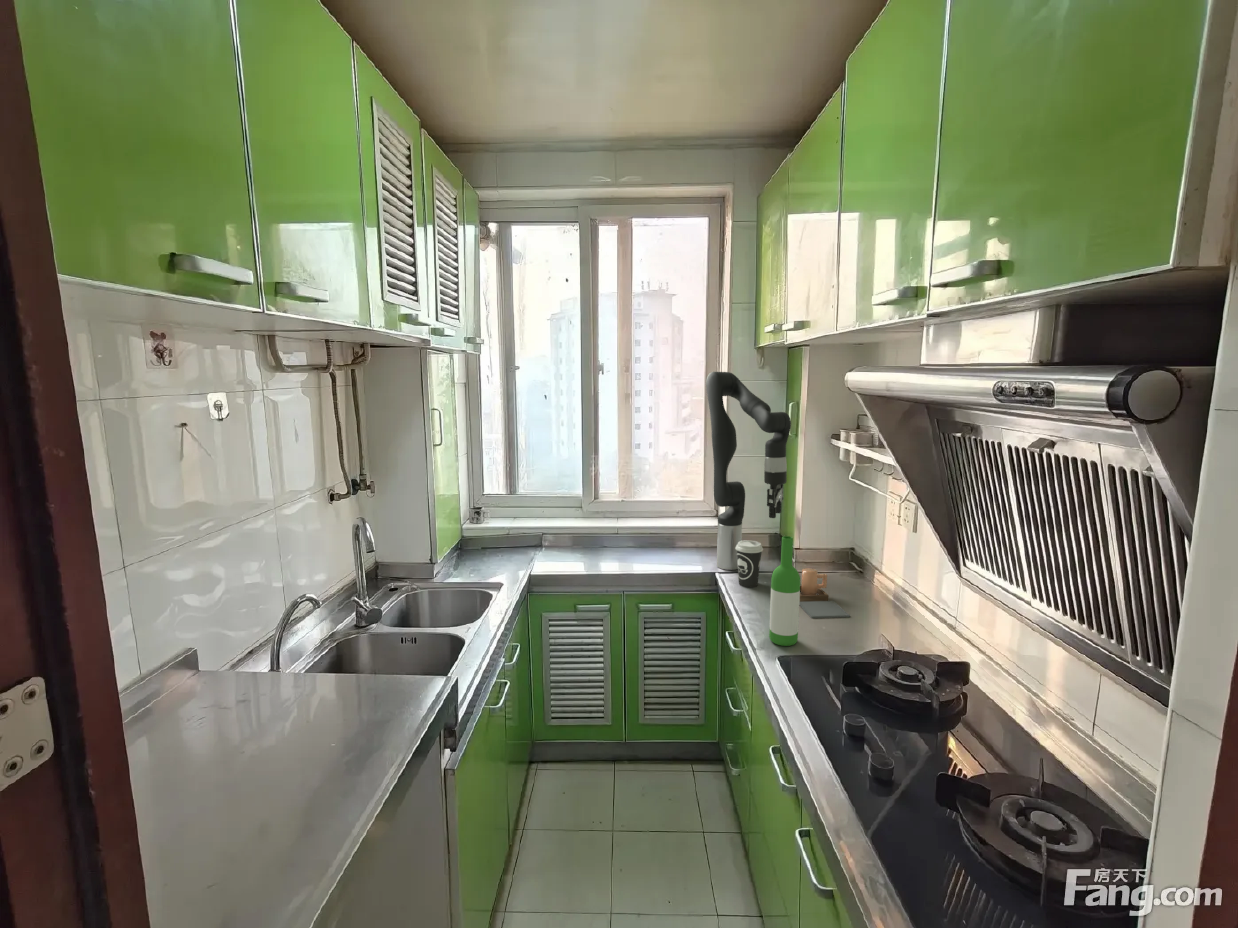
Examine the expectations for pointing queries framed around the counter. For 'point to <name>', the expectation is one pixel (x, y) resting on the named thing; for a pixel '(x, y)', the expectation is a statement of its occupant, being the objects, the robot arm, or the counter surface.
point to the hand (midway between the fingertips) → (775, 515)
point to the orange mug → (811, 581)
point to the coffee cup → (748, 562)
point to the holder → (815, 596)
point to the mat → (823, 609)
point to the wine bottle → (785, 598)
